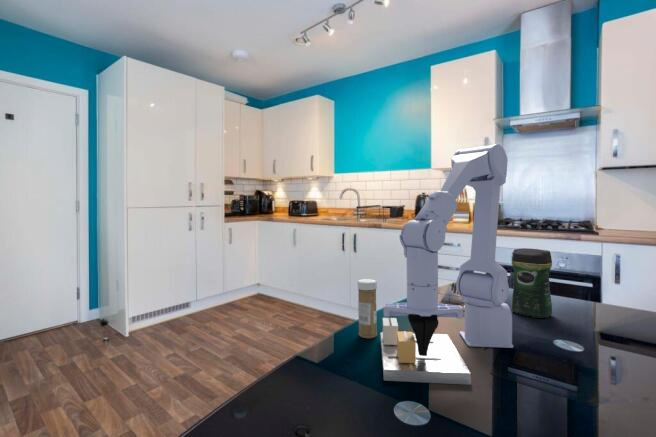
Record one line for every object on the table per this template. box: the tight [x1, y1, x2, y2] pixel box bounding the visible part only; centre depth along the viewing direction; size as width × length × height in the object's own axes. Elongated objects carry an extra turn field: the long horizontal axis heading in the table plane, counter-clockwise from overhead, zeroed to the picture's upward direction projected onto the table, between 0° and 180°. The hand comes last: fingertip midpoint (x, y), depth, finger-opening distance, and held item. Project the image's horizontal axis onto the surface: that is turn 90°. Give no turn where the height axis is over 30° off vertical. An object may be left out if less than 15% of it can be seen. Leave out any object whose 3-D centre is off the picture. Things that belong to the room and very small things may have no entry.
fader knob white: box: [382, 317, 399, 345], centre depth 74 cm, size 3×5×4 cm, turn 173°
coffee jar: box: [510, 247, 553, 319], centre depth 96 cm, size 10×8×19 cm
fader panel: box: [380, 331, 472, 386], centre depth 69 cm, size 15×18×2 cm
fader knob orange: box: [397, 330, 416, 363], centre depth 66 cm, size 3×5×4 cm, turn 173°
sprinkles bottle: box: [357, 278, 378, 339], centre depth 82 cm, size 5×5×14 cm
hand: (422, 353), depth 65 cm, fingers closed
